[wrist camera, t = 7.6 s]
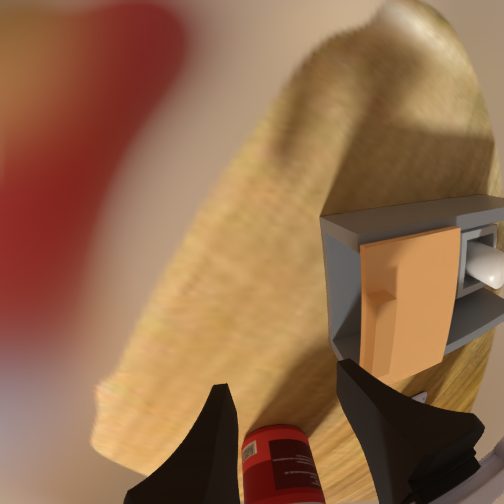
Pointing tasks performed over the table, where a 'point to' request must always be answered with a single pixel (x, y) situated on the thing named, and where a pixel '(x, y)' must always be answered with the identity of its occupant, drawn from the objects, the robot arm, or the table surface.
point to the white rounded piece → (485, 263)
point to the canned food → (279, 467)
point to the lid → (407, 302)
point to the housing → (398, 225)
